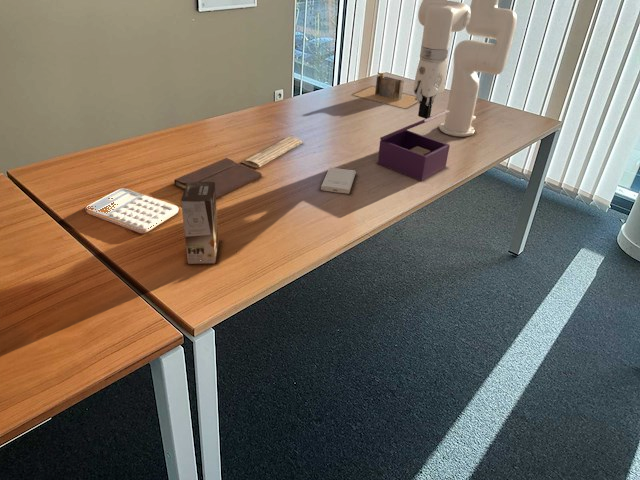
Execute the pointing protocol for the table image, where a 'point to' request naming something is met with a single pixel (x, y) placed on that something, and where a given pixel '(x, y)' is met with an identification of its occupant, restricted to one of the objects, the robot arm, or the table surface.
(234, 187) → the notebook
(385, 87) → the architectural model on board
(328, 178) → the hard drive
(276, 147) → the newspaper
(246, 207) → the table surface
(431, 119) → the lid
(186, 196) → the coffee box
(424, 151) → the block
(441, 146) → the purple lidded box
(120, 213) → the calculator
